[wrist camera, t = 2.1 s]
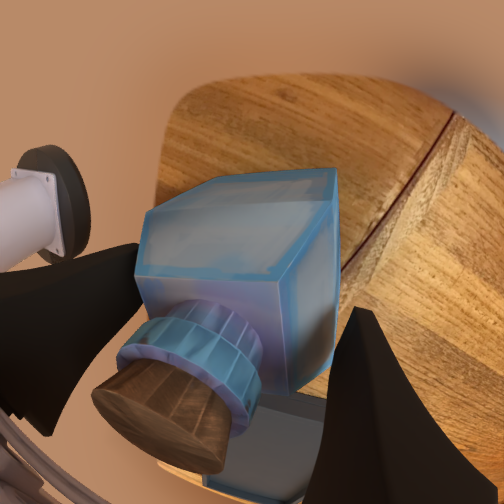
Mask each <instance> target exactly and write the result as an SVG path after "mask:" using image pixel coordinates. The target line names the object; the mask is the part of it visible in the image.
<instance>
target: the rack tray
mask: <svg viewBox="0 0 504 504" xmlns="http://www.w3.org/2000/svg"><path fill="white" fill-rule="evenodd" d="M326 401H327V400H326V399H322V398H318V397H313V396H309V395H305V394H301V393H297V392H294V393H293V394H292V395H290V396H281V395H273V394H265V393H261V398H260V400H259V403H258V406H257V408H256V411H255V413H254V416H253V419H252V421H251V424H250V426H249V428H248V429H247V430H246V431H245V432H244V434H243V435H241V436H237V437H234V438H231V439H229V442H228V447H227V453H226V459H225V465H224V470H223V471H222V472H221V473H219V474H215V475H204V474H202V484H203V486H205V487H207V488H210V489H213V490H216V491H219V492H222V493H225V494H228V495H231V496H234V497H237V498H240V499H244V500H247V501H251V502H255V503H259V504H298V503H299V502H301V501H303V499H304V496H305V493H306V490H307V488H308V485H309V482H310V479H311V476H312V473H313V469H314V466H315V463H316V459H317V456H318V452H319V448H320V444H321V439H322V433H323V426H324V418H325V410H326Z"/></svg>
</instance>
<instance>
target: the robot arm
mask: <svg viewBox="0 0 504 504" xmlns="http://www.w3.org/2000/svg"><path fill="white" fill-rule="evenodd" d="M43 248H45V249H47V250H49V251H51V252H53V253H55V254H57V255H59V256H61V257H63V256H65V255H66V250H65V245H64V239H63V233H62V226H61V219H60V212H59V203H58V193H57V181H56V176H55V174H54V173H49V172H42V171H35V170H28V169H20V168H12V169H11V178H10V179H8V180H5V181H2V182H0V504H61V503H60V502H58V501H57V500H56V499H55V498H53V497H52V496H51V495H50V494H48V493H47V492H46V491H45V490H44V489H42V488H41V487H42V486H43V484H44V482H43V480H42V479H41V477H40V476H39V475H38V474H37V473H36V471H37V472H38V473H39V474H40V475H41V476H42V477H43V478H44V479H45V480H47V481H48V482H49V483H50V484H51V485H52V486H53V487H55V488H56V489H57V490H58V491H59V492H61V493H62V494H63V495H64V496H66V497H67V498H68V499H69V500H71V501H72V502H73V503H75V504H111V503H109V502H108V501H106V500H104V499H103V498H101V497H100V496H98V495H97V494H95V493H94V492H92V491H91V490H90V489H88V488H87V487H85V486H84V485H83V484H81V483H80V482H78V481H77V480H76V479H75V478H73V477H72V476H71V475H69V474H68V473H67V472H66V471H64V470H63V469H62V468H61V467H60V466H58V465H57V464H56V463H55V462H54V461H53V460H51V459H50V458H49V457H48V456H47V455H46V454H45V453H44V452H42V451H41V450H40V449H39V448H38V447H37V446H36V445H35V444H34V443H33V442H32V441H31V440H30V439H29V438H28V437H27V436H26V435H25V434H24V433H23V432H22V431H21V430H20V429H19V428H18V427H17V426H16V425H15V424H14V423H13V421H12V420H11V419H10V418H9V416H10V415H11V414H12V413H13V414H14V415H15V416H16V417H17V418H18V419H19V420H21V419H22V418H23V417H24V418H25V419H26V420H27V421H28V422H29V423H30V424H31V425H32V426H33V427H34V428H35V429H36V430H37V431H38V432H40V433H41V434H42V435H43V436H45V437H49V436H52V434H53V432H54V429H55V426H56V424H57V422H58V419H59V417H60V415H61V412H62V410H63V408H64V406H65V405H66V403H67V401H68V399H69V397H70V395H71V393H72V391H73V390H74V388H75V387H76V385H77V383H78V381H79V380H80V378H81V377H82V375H83V374H84V372H85V370H86V369H87V368H88V367H89V365H90V363H91V362H92V361H93V359H94V358H95V357H96V355H97V354H98V353H99V352H100V351H101V350H102V349H103V347H104V346H105V345H106V344H107V343H108V342H109V341H110V340H111V339H112V338H113V337H114V336H115V335H116V334H117V333H118V331H119V330H120V329H121V328H122V327H123V326H124V325H125V324H126V323H127V322H128V321H129V320H130V318H131V317H133V315H134V314H135V313H136V312H137V311H138V309H139V308H140V307H141V305H142V304H143V303H144V302H143V300H142V297H141V294H140V291H139V289H138V286H137V283H136V280H135V277H134V274H135V267H136V261H137V255H138V250H139V244H137V243H131V244H125V245H121V246H117V247H113V248H109V249H106V250H102V251H99V252H95V253H92V254H89V255H85V256H82V257H79V258H75V259H71V260H67V261H64V262H60V263H57V264H52V265H48V266H44V267H38V268H33V269H28V270H20V271H12V272H6V271H8V270H9V269H11V268H12V267H14V266H15V265H17V264H18V263H20V262H22V261H23V260H25V259H26V258H28V257H29V256H31V255H33V254H34V253H36V252H38V251H39V250H41V249H43ZM7 441H8V442H9V443H10V444H11V446H12V447H13V448H14V449H15V450H16V451H17V452H18V453H19V454H20V455H21V456H22V457H23V458H24V459H25V460H26V461H27V463H29V464H30V465H31V466H32V467H33V468H34V469H35V470H36V471H34V469H32V468H31V467H30V466H29V465H28V464H27V463H26V462H25V461H23V460H22V459H21V458H20V457H19V456H18V455H17V454H15V453H14V452H13V451H12V450H11V449H10V448H8V446H7ZM302 504H498V489H497V487H496V486H495V485H494V484H493V483H492V482H490V481H489V480H488V479H487V478H486V477H485V476H484V475H483V474H482V473H480V472H479V471H478V470H477V469H476V468H475V467H474V466H473V465H472V464H471V463H470V462H469V461H468V460H467V459H466V458H465V457H464V456H463V454H462V453H461V452H460V451H459V450H458V449H457V448H456V447H455V446H454V444H453V443H452V442H451V441H450V440H449V438H448V437H447V436H446V435H445V433H444V432H443V431H442V429H441V428H440V427H439V426H438V424H437V423H436V422H435V420H434V419H433V418H432V416H431V415H430V413H429V412H428V410H427V409H426V407H425V406H424V404H423V403H422V401H421V400H420V398H419V397H418V395H417V394H416V392H415V391H414V389H413V387H412V386H411V384H410V382H409V380H408V379H407V377H406V375H405V374H404V372H403V370H402V368H401V366H400V365H399V363H398V361H397V359H396V357H395V355H394V353H393V351H392V349H391V347H390V345H389V343H388V341H387V339H386V337H385V335H384V333H383V331H382V329H381V327H380V325H379V323H378V321H377V319H376V317H375V315H374V313H373V311H371V310H367V309H363V308H359V307H356V306H354V308H353V311H352V313H351V315H350V318H349V320H348V322H347V325H346V327H345V329H344V331H343V334H342V336H341V338H340V340H339V342H338V344H337V347H336V349H335V351H334V356H333V360H332V365H331V370H330V375H329V382H328V392H327V401H326V410H325V418H324V426H323V433H322V439H321V444H320V448H319V452H318V456H317V459H316V463H315V466H314V469H313V473H312V476H311V479H310V482H309V485H308V488H307V490H306V493H305V496H304V499H303V501H302Z"/></svg>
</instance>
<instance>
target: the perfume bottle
mask: <svg viewBox="0 0 504 504" xmlns="http://www.w3.org/2000/svg"><path fill="white" fill-rule="evenodd" d="M134 277H135V280H136V283H137V286H138V289H139V291H140V294H141V297H142V300H143V302H144V305H145V308H146V310H147V313H148V316H149V318H150V320H149V321H147V322H145V323H144V324H142V325H141V327H140V328H139V329H138V330H137V331H136V332H135V333H134V334H133V335H132V336H131V337H130V339H129V340H128V341H127V342H126V343H125V344H124V345H123V346H122V347H121V349H120V351H119V352H118V354H117V356H116V361H117V369H118V371H119V372H117V373H116V374H115V375H113V376H112V377H111V378H109V379H108V380H106V381H105V382H103V383H102V384H101V385H99V386H98V387H96V388H95V389H93V391H92V394H91V397H92V400H93V403H94V405H95V407H96V408H97V410H98V411H99V413H100V414H101V416H102V417H103V418H104V419H105V420H106V421H107V422H108V423H109V424H110V425H111V426H112V427H113V428H114V429H115V430H116V431H117V432H118V433H119V434H121V435H122V436H123V437H124V438H126V439H127V440H128V441H130V442H131V443H132V444H134V445H135V446H137V447H138V448H140V449H141V450H143V451H144V452H146V453H148V454H149V455H151V456H153V457H155V458H157V459H159V460H161V461H163V462H165V463H167V464H170V465H172V466H174V467H177V468H180V469H183V470H186V471H189V472H193V473H198V474H204V475H215V474H219V473H221V472H222V471H223V470H224V465H225V459H226V453H227V447H228V442H229V439H231V438H234V437H237V436H241V435H243V434H244V432H245V431H246V430H247V429H248V428H249V426H250V424H251V421H252V419H253V416H254V413H255V411H256V408H257V406H258V403H259V400H260V398H261V393H265V394H273V395H281V396H290V395H292V394H293V393H294V392H296V391H297V390H299V389H300V388H302V387H303V386H304V385H306V384H307V383H309V382H310V381H311V380H313V379H314V378H316V377H317V376H318V375H320V374H321V373H322V372H324V371H325V370H326V369H328V368H329V367H330V366H331V365H332V360H333V356H334V348H335V339H336V329H337V319H338V307H339V294H340V221H339V199H338V183H337V169H336V168H319V169H300V170H284V171H271V172H259V173H249V174H239V175H229V176H220V177H216V178H213V179H211V180H209V181H207V182H205V183H203V184H201V185H199V186H196V187H194V188H192V189H190V190H188V191H186V192H184V193H182V194H180V195H178V196H176V197H174V198H172V199H170V200H168V201H166V202H164V203H163V204H161V205H159V206H157V207H155V208H153V209H151V210H149V211H148V212H146V214H145V219H144V224H143V228H142V234H141V239H140V244H139V250H138V255H137V261H136V267H135V274H134Z"/></svg>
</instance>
